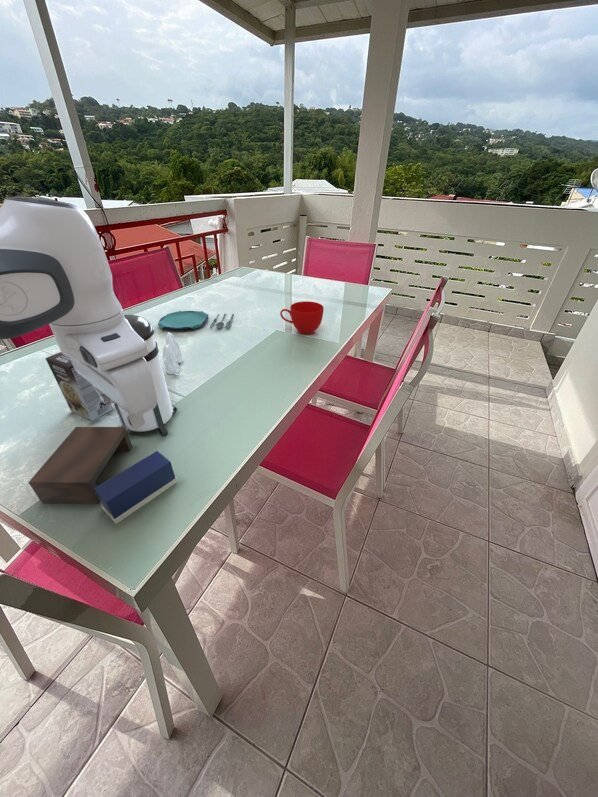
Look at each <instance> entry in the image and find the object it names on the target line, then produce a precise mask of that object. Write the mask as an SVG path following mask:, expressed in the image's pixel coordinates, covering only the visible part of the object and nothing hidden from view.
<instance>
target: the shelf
mask: <svg viewBox="0 0 598 797" xmlns="http://www.w3.org/2000/svg"><path fill="white" fill-rule="evenodd" d="M132 448H134V446H133V444H132V441H131V438H130V435H129V434H128V433H127V428H126V427H121V426H75V427H74V428H73V430H71V432H70V433H69V434H68V435H67V436H66V438H65V439H64V440H63V441H62V442H61V444H60V445H58V447H57V448H56V449H55V451H54V452H52V454H51V455H50V456H49V457H48V458H47V460H45V462H44V463H43V464H42V466H41V467H40V468H39V469H38V470H37V471H36V473H35V474H34V475H33V476H32V477H31V479H30V480H29V481H28V485H29V486H30V488H31V489H32V490H33V492H34V493H35V495H36V496H37V498H38V499H39V501H40V502H41V504H100V503H101V501H100V499H99V497H98V495H97V493H96V491H95V490H94V488H95V487H97V486H98V485H97V483H96V481H97V480H98V478H99V476H100V475H101V473H102V471H103V470H104V469H105V467H106V466H107V464H108V462H109V461H110V459H111V458H112V456H113V455H114V453H115V452H131V451H132Z"/></svg>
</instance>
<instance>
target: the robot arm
mask: <svg viewBox="0 0 598 797" xmlns="http://www.w3.org/2000/svg"><path fill="white" fill-rule="evenodd" d="M107 257H108V256H107V255H106V251H105V248H104V246H103V243H102V241H101V238H100V235H99V234H98V232H97V230H96V227H95V225H94V224H93V221H92V220H91V218H90V216H88V214H87V213H86V212H85V211H84V210H83V209H81V208H80V207H79V206H77V205H75V204H72V203H69V202H65V201H60V200H54V199H53V200H52V199H45V198H37V197H36V198H35V197H29V196H11V197H7V198H5V199H4V200H3V203H2V205H1V206H0V340H9V339H15V338H18V337H23V336H25V335H27V334H29V333H32V332H34V331H37V330H38V329H41V328H43V327H45V326H47V325H49V327H50V329H51V332H52V334H53V336H54V339H55V341H56V344H57V345H58V348H59V350H60V352H62V354H63V355H65V356H67V357H70V360H71V362H72V365H73V367H74V369H75V370H76V372H77V373H78V374H80V375H81V376H82V377H83V378H85V379H86V380H87V381H88V382H90V383H91V384H92V385H93V387H94V388H95V390H96V391H97V393H98V394H99V397H100V399H101V401H102V402H103V403H104V404H106V405H109V404H111V405H112V404H114V402H115V403H116V404H117V405H119V406H120V407H121V408H122V409H124V410H125V411H126V412H128V415H129V416H127V419H128V421H129V424H130V425H131V426H132V427H133V428H135V429H137V428H139V427H141V426H143V425H144V424H145V421H144V418H143V414H144V413H146V412H148V411H150V410H152V409H154V408H155V407H156V404H157V395H156V390H155V386H154V381H153V378H152V374H151V370H150V367H149V365H148V363H147V361H146V360H145V358H144V356H146V355H148V349H147V345H146V343H145V341H144V340H143V339H142V338H141V337H140V336H139V335H138V334H137V333H136V332H135V331H134V330H133V328H132V327H131V326H130V324H129V322H128V320H127V319H125V316H124V315H125V314H124V310H123V307H122V304H121V302H120V300H119V299H118V298H117V296H116V293H115V290H114V284H113V280H114V279H113V273H112V269H111V267H110V264H109V261H108V258H107Z"/></svg>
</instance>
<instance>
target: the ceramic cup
mask: <svg viewBox="0 0 598 797" xmlns="http://www.w3.org/2000/svg"><path fill="white" fill-rule="evenodd" d="M324 308H325V307H324V305H323V304H321V303H319V302H316V301H309V300H306V301H297V302H294V303H292V304H290V307H289V309H288V308H282V309H281V310H280V313H279V314H280V317H281V319H282V320H283V321H285V322H286V323H290V324H292V326H294V328H295V329H296V330H297V331H298V333H300V334H302V335H311V334H313V333H315V332H316V331H317V330H318V328H320V326H321V324H322V321H323V316H324V311H325V310H324ZM283 312H288V314H289V316H290V319H291V320H290V319H288V318H286V317H284V315H283Z"/></svg>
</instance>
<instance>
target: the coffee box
mask: <svg viewBox="0 0 598 797" xmlns="http://www.w3.org/2000/svg"><path fill="white" fill-rule="evenodd" d="M45 361H46V363H47V364H48V367H49V369H50V371H51V374H52V375H53V377H54V380H55V381H56V384H57V385H58V387H59V390H60V391H61V393H62V396H63V397H64V400H65V402H66V404H67V406H68V408H69V410H70V412H72V413H73V414H76V415H78V416H80V417H82V418H85V419H87V420H89V421H91V422H94V421H96V420H97V419H99V418H100V417H102V416H103V415H105V414H107V413H109V412H111V411H112V410H113V406H112V403H111V404H109V405H106V404H104V403H103V402H102V401H101V399H100V397H99V394H98V393H97V391H96V390H95V388H94V387H93V385H92V384H91V383H90V382H88V381H87V380H86V379H85V378H83V377H82V376H81V375H80V374H78V373H77V372H76V370H75V369H74V367H73V365H72V362H71V360H70V357H67V356H65V355H63V354H62V352H61V351H60V352H56V353H55V354H52V355H49V356H47V357H45Z"/></svg>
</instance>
